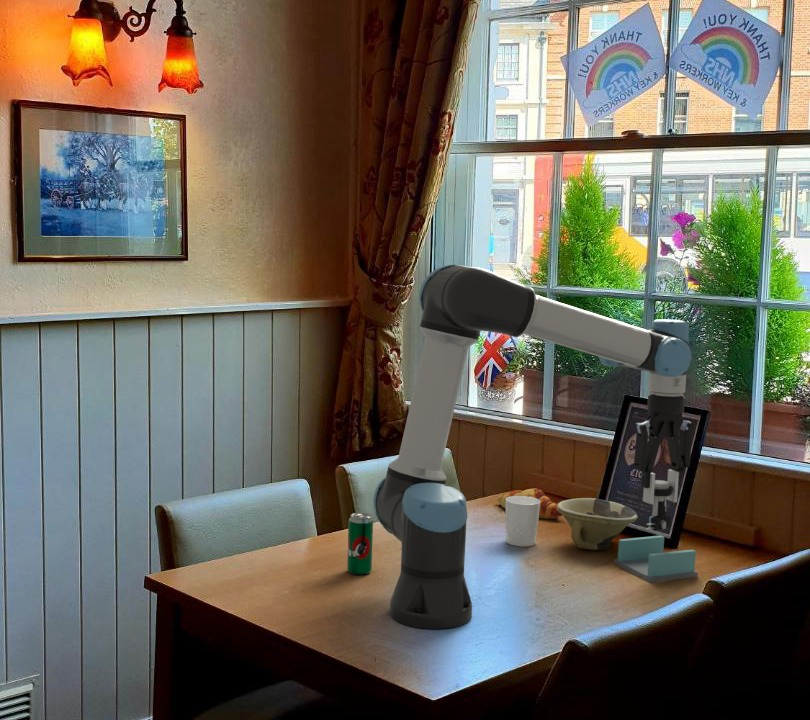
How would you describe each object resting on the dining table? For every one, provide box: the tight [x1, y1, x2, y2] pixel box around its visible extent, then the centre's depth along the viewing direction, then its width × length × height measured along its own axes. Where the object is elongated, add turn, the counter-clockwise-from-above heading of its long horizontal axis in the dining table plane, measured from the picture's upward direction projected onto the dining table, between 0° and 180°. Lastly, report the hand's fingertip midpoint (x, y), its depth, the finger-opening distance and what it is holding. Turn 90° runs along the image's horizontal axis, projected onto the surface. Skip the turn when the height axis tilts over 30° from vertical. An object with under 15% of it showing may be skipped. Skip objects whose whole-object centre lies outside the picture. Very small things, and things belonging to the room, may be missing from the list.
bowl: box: [557, 497, 639, 552], centre depth 242 cm, size 18×18×10 cm
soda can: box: [346, 512, 374, 576], centre depth 218 cm, size 5×5×12 cm
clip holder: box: [613, 535, 699, 583], centre depth 226 cm, size 12×13×6 cm
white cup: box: [505, 496, 540, 548], centre depth 243 cm, size 8×8×10 cm
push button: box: [645, 479, 673, 531], centre depth 225 cm, size 7×5×10 cm
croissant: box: [497, 488, 563, 520], centre depth 270 cm, size 21×10×8 cm, turn 45°
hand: (659, 501), depth 225 cm, fingers closed on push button, 5 cm apart
